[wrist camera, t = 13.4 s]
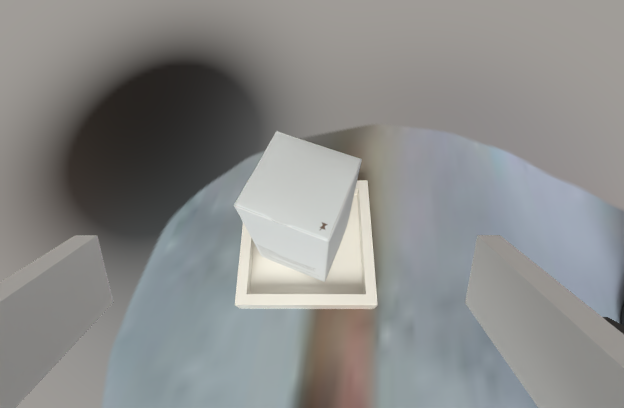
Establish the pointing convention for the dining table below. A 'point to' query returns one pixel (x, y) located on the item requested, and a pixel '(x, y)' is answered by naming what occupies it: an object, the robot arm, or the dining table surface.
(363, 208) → the stoneware dish
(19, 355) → the robot arm
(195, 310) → the dining table surface
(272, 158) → the supplement box
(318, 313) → the dining table surface
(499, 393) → the dining table surface
